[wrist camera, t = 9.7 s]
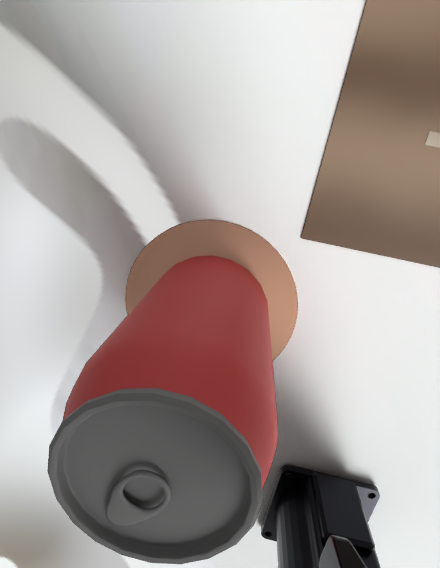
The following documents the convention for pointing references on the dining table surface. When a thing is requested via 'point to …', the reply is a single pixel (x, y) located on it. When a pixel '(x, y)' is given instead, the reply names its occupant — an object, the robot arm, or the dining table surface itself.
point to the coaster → (225, 244)
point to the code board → (385, 140)
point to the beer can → (173, 420)
